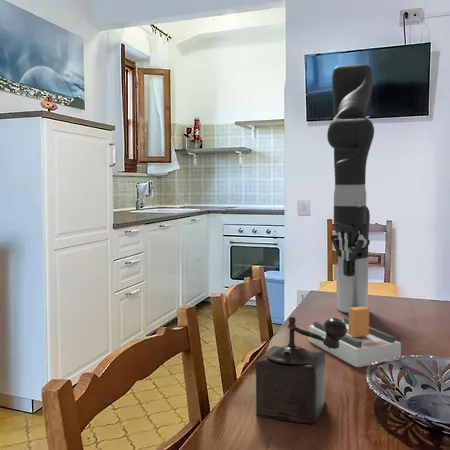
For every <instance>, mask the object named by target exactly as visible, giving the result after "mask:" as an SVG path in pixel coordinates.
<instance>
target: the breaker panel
mask: <svg viewBox="0 0 450 450" xmlns="http://www.w3.org/2000/svg"><path fill="white" fill-rule="evenodd" d="M342 321H343V322H344V320H342ZM345 324H346V323H345ZM346 327H347V333H346V334H347V335H348V329H349V324H346ZM308 331H309V332H312V333H315V334H318V335H321V336H323V337H326V332H325V331H323V330H321V329H318V328H316V327H314V324H311V325H308ZM349 336H350V335H349ZM351 337H353V336H351ZM353 338H355V339H357V340H360V341H362V347H358V348H357V347H355V346H353V345H351V344H349V343H347V342H345V341H343V340H341V339H340V340H339V348H337V349H333V348H330V349H329V347H327V346H326V345H324V343H323V341H320V340H318V339H315V338H312V337H308V342H310V343H312V344H313V345H315V346H317V347H318V348H321V349H322V350H323V351H326V352H328V353H329V354H332V355H333V356H334V357H337V358H338V359H340V360H342V361H344V362H346V363H347V364H350V365H351V366H353V367H355V368H361V367H366V366H371V365H370V364H371V363H373V362H375V361H378V360H382V359H387V358H392V357H399V356H401V357H402V342H400V341H399V340H398V341H397V340H396V339H395V342H391V343H390V342H388V341H386V340H383V339H381V338H379V337H376V336H374V335H372V334H369V335H368V336H361V337H353Z"/></svg>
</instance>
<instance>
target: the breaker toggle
mask: <svg viewBox="0 0 450 450" xmlns="http://www.w3.org/2000/svg"><path fill="white" fill-rule="evenodd" d="M348 318H349V329H348V335H350V336H353V337H361V336H368V335H369V326H370V308H369V307H368V308H366V307H363V306H361V307H352V308H349V313H348Z"/></svg>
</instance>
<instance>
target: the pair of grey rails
mask: <svg viewBox="0 0 450 450" xmlns="http://www.w3.org/2000/svg"><path fill="white" fill-rule="evenodd" d="M343 321H344V323H346V324H349V317H344V318H343ZM313 325H314V327H316V328H318V329H321V330H323V331H325V330H324V323H323V322H321V321H318V320H317V321H314V322H313ZM369 334H372V335H374V336H376V337H379V338H381V339H383V340H386V341H388V342H390V343H391V342H395V340H396V336H394V335H391V334H389V333H386V332H384V331H382V330H379V329H377V328H374V327H372V326H370V325H369ZM341 340H343V341H345V342H347V343H349V344H351V345H353V346H355V347H357V348H358V347H362V341H360V340H357V339H355V338H353V337H351V336H349V335H347V334H346V335H345V336H343V337H342V338H341Z"/></svg>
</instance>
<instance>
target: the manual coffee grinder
mask: <svg viewBox="0 0 450 450" xmlns="http://www.w3.org/2000/svg"><path fill="white" fill-rule="evenodd" d="M296 321H297V319H296V317H294V316H292V315H290V316H289V318H288V323H289V324H288V325H287V329H288V331H289V339H288V341H289V342H288V344H287V345H283V346H280V345H279V346H278V345H273V346H272V347H270V348H269V349H267V351H266V352H265V353H263V355H262V356H261V357H260V358H259V359H258V360H257V361H256V362H255V394H256V395H255V397H256V398H255V399H256V400H255V401H256V402H255V403H256V405H255V406H256V411H255V415H256V416H260V417H265V418H269V419H275V420H278V421H283V422H293V423H301V424H310V425H311V424H314V423H315V422H316V421H317V420H318V419H319V416H321V414H322V412H323V410H324V405H325V401H326V396H325V395H326V393H325V392H326V391H325V390H326V388H325V382H326V381H325V380H326V379H325V377H326V376H325V375H326V374H325V373H326V353H325V352H322V351H315V350H310V349H309V350H308V349H306V348H304V347H302V346H300V345H296V344H295V332H296V333H297V334H299V335H303V336H306V337H308V338H309V337H312V338H315V339H318V340H320V341H323V343H324V345H326V346H327V347H329V349H330V348H333V349H337V348H339V340H340V339H341V338H342V337H343V336H345V335H346V333H347V327H346V324H345V323H344V322H343V321H344V320H341V319H339V318H336V317H331V318H327V319H326V320H325V322H324V323H323V324H324V330H325V332H326V337H323V336H321V335H318V334H315V333H312V332H309V330H305V329H302V328H299V327H297V325H296Z"/></svg>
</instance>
